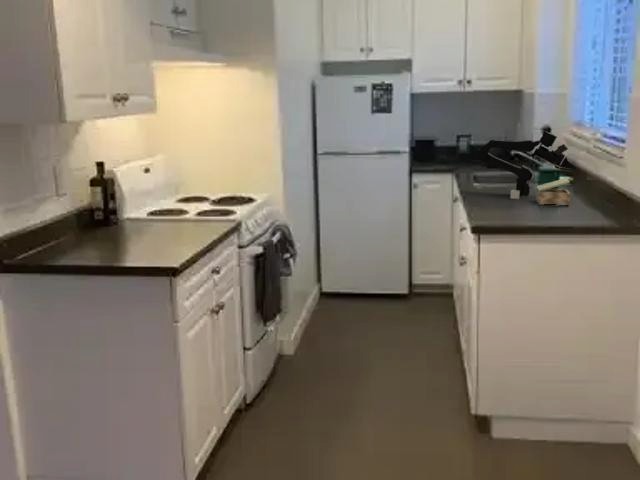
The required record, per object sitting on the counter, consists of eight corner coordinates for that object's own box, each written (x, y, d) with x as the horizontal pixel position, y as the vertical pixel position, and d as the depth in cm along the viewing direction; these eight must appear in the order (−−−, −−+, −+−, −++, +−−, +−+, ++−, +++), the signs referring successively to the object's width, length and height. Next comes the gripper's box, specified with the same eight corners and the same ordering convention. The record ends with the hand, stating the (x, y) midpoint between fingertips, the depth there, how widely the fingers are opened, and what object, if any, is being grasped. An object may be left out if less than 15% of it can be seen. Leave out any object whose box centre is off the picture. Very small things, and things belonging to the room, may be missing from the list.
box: (537, 204, 327) (539, 191, 325) (535, 200, 340) (537, 187, 339) (569, 206, 324) (570, 193, 322) (565, 201, 337) (567, 189, 336)
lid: (539, 191, 325) (538, 189, 325) (537, 187, 339) (536, 186, 339) (569, 182, 321) (569, 181, 321) (566, 179, 335) (565, 177, 335)
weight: (510, 198, 343) (511, 190, 342) (510, 197, 346) (511, 189, 346) (518, 199, 342) (519, 191, 341) (518, 198, 345) (519, 190, 345)
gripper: (555, 138, 339) (584, 153, 335) (555, 143, 357) (582, 157, 352) (543, 158, 341) (572, 173, 336) (543, 162, 358) (571, 176, 354)
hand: (575, 169), depth 345 cm, fingers open, 9 cm apart
